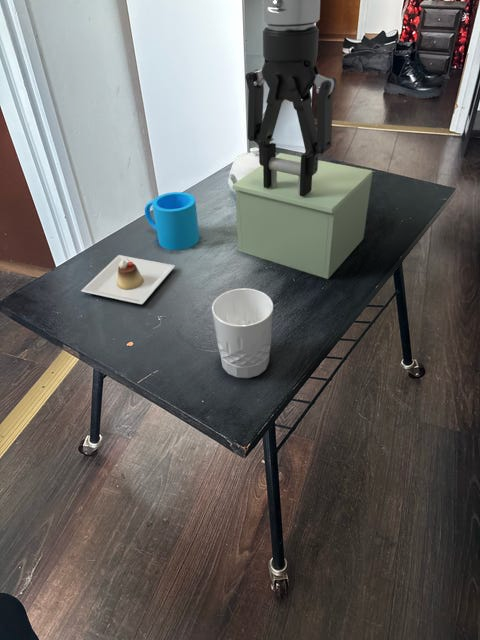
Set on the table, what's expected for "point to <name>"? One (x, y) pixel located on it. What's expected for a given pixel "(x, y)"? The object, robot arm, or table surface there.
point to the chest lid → (327, 183)
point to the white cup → (243, 331)
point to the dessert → (129, 279)
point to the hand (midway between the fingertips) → (287, 188)
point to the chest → (301, 231)
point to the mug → (174, 220)
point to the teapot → (243, 166)
